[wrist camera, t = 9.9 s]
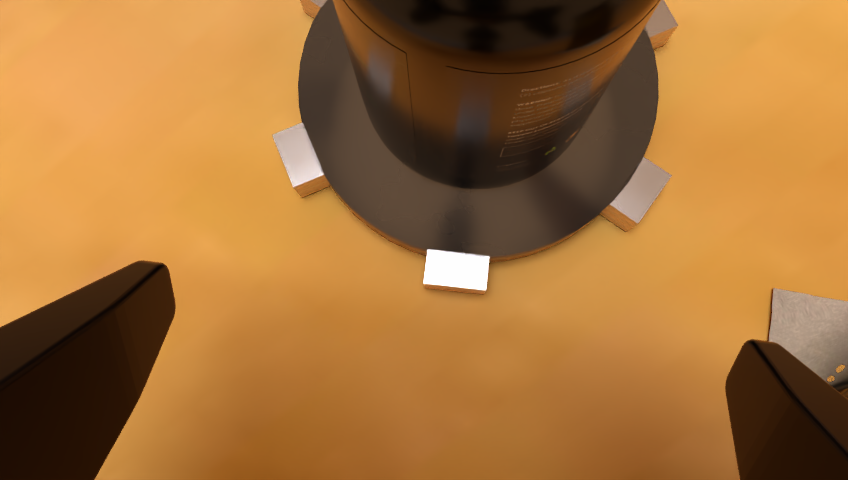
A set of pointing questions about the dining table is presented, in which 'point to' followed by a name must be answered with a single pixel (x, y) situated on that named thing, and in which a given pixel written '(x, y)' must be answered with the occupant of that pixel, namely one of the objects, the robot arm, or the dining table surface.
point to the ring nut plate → (473, 208)
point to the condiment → (813, 333)
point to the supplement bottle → (485, 78)
